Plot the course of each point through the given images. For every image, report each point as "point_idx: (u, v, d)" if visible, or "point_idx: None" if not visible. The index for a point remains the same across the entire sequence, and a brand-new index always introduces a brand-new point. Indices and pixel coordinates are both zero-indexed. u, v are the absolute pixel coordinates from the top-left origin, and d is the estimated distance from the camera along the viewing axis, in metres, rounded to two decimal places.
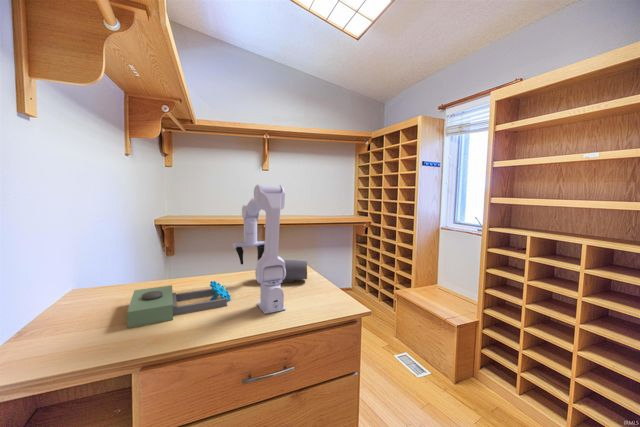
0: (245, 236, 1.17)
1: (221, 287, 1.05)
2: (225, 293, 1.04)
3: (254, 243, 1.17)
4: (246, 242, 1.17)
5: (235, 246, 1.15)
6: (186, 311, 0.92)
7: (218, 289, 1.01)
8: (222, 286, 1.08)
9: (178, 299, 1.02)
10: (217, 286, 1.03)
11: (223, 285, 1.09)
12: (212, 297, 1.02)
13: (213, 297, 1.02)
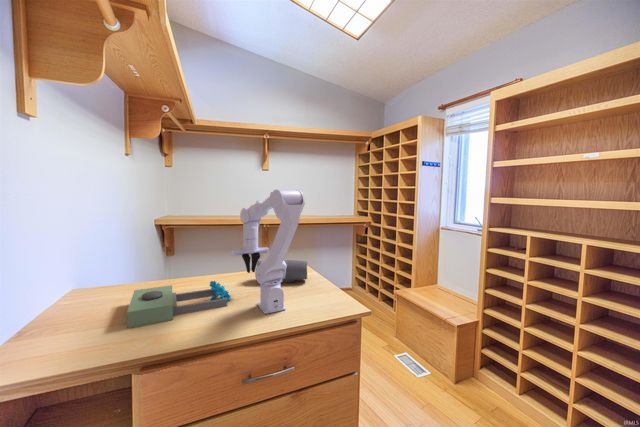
0: (245, 242, 1.05)
1: (221, 287, 1.05)
2: (225, 293, 1.04)
3: (255, 250, 1.06)
4: (246, 249, 1.05)
5: (234, 253, 1.04)
6: (186, 311, 0.92)
7: (218, 289, 1.01)
8: (222, 286, 1.08)
9: (178, 299, 1.02)
10: (217, 286, 1.03)
11: (223, 285, 1.09)
12: (212, 297, 1.02)
13: (213, 297, 1.02)
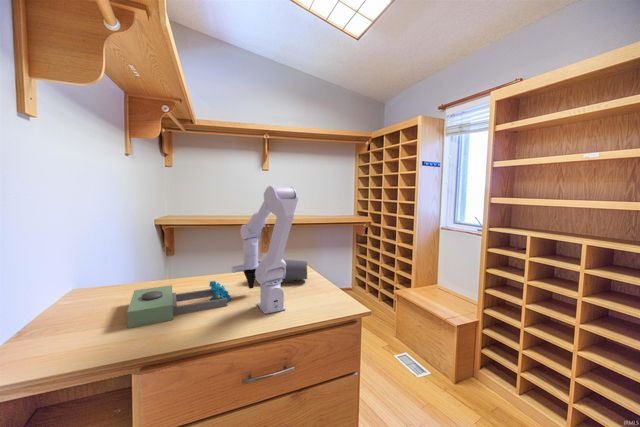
0: (245, 259, 1.06)
1: (221, 287, 1.05)
2: (224, 293, 1.04)
3: (255, 266, 1.06)
4: (246, 265, 1.06)
5: (234, 270, 1.04)
6: (186, 311, 0.92)
7: (217, 289, 1.01)
8: (222, 286, 1.08)
9: (178, 299, 1.02)
10: (216, 286, 1.03)
11: (223, 285, 1.09)
12: (211, 297, 1.02)
13: (212, 297, 1.02)
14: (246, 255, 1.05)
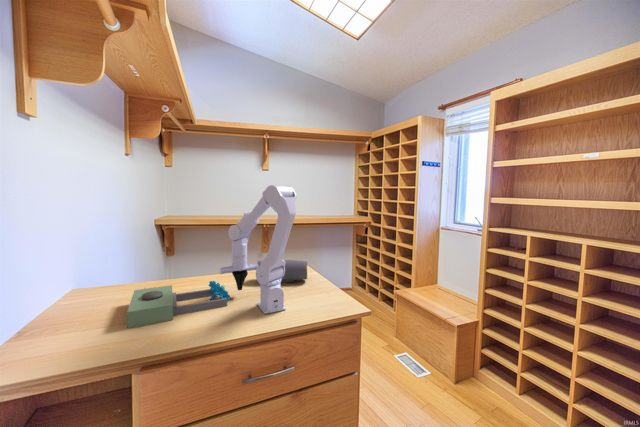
0: (233, 260, 1.04)
1: (220, 287, 1.05)
2: (224, 293, 1.04)
3: (243, 268, 1.04)
4: (234, 267, 1.04)
5: (222, 271, 1.02)
6: (186, 311, 0.92)
7: (217, 289, 1.01)
8: (222, 286, 1.08)
9: (178, 299, 1.02)
10: (216, 286, 1.03)
11: (223, 285, 1.09)
12: (211, 297, 1.02)
13: (212, 297, 1.02)
14: (234, 256, 1.03)
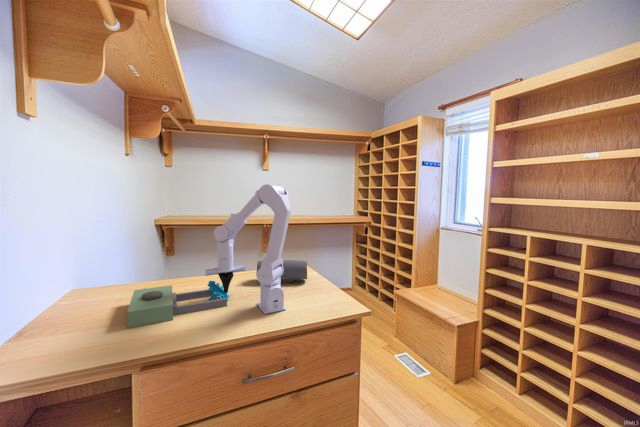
0: (219, 261, 1.01)
1: (220, 287, 1.05)
2: (223, 293, 1.03)
3: (229, 269, 1.02)
4: (220, 268, 1.01)
5: (207, 273, 1.00)
6: (186, 311, 0.92)
7: (216, 289, 1.01)
8: (221, 286, 1.08)
9: (178, 299, 1.02)
10: (215, 286, 1.03)
11: None
12: (210, 297, 1.02)
13: (211, 297, 1.02)
14: (220, 258, 1.01)
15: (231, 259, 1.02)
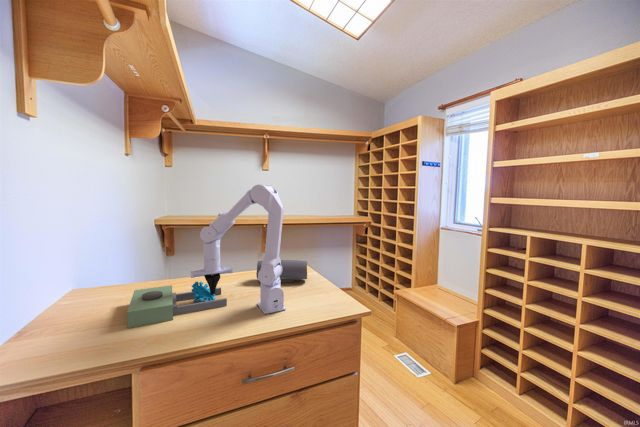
0: (205, 263, 0.99)
1: (206, 289, 1.03)
2: (208, 295, 1.01)
3: (216, 271, 0.99)
4: (206, 270, 0.99)
5: (192, 275, 0.97)
6: (186, 311, 0.92)
7: (200, 291, 0.99)
8: None
9: (178, 299, 1.02)
10: (201, 287, 1.01)
11: None
12: (195, 299, 1.01)
13: (196, 298, 1.01)
14: (206, 259, 0.98)
15: (218, 260, 1.00)
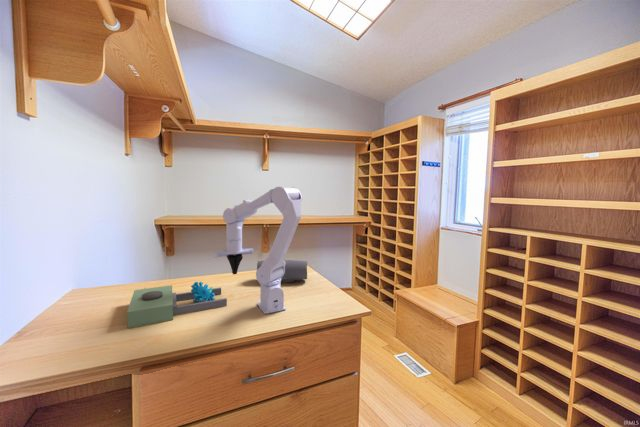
0: (228, 243, 1.03)
1: (206, 289, 1.03)
2: (208, 296, 1.01)
3: (238, 251, 1.03)
4: (229, 250, 1.03)
5: (216, 255, 1.01)
6: (186, 311, 0.92)
7: (199, 291, 0.99)
8: (210, 288, 1.06)
9: (178, 299, 1.02)
10: (200, 287, 1.01)
11: (211, 287, 1.06)
12: (195, 298, 1.01)
13: (196, 298, 1.01)
14: (229, 239, 1.02)
15: (240, 241, 1.04)
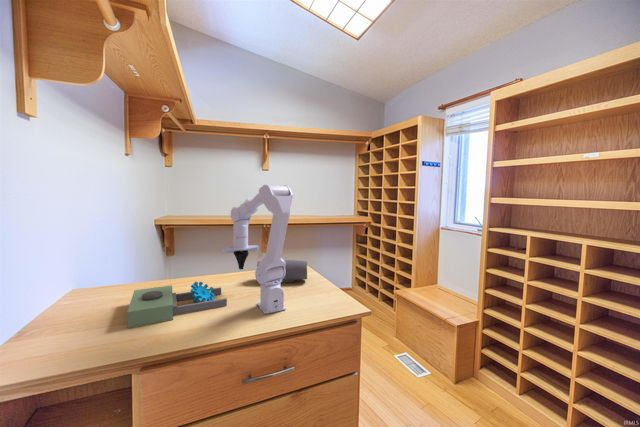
0: (235, 240, 1.09)
1: (206, 289, 1.03)
2: (207, 296, 1.01)
3: (245, 248, 1.10)
4: (236, 247, 1.09)
5: (224, 251, 1.08)
6: (186, 311, 0.92)
7: (199, 291, 0.99)
8: (210, 288, 1.06)
9: (178, 299, 1.02)
10: (200, 288, 1.01)
11: (211, 287, 1.06)
12: (195, 298, 1.01)
13: (195, 298, 1.01)
14: (236, 236, 1.09)
15: (246, 238, 1.10)
